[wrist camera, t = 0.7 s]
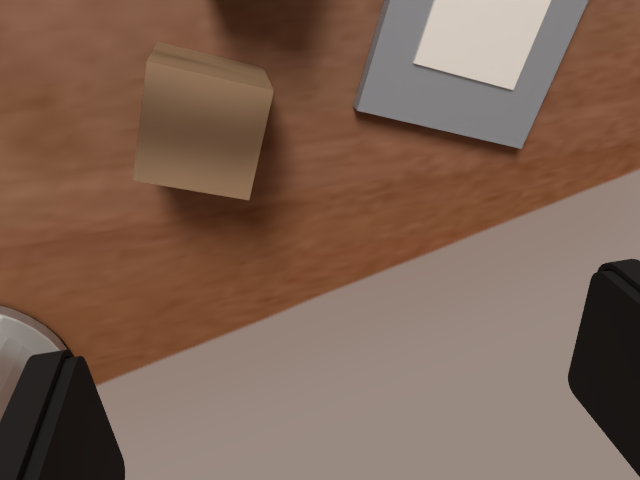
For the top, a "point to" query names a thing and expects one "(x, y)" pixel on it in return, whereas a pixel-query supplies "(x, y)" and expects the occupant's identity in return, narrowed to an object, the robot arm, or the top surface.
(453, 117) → the pad
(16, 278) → the top surface
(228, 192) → the walnut block
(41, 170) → the top surface
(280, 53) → the top surface
